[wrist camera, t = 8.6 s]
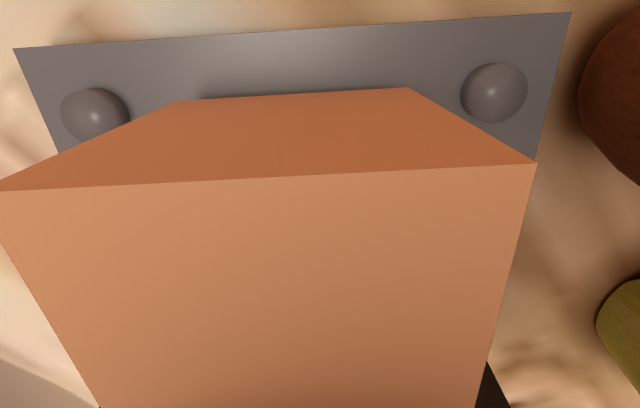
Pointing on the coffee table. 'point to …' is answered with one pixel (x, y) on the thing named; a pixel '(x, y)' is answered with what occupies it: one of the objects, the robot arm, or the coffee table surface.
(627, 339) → the plant pot
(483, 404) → the robot arm
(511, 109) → the baseplate
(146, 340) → the brick
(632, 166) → the wooden figurine
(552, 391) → the coffee table surface
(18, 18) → the coffee table surface
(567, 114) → the coffee table surface
